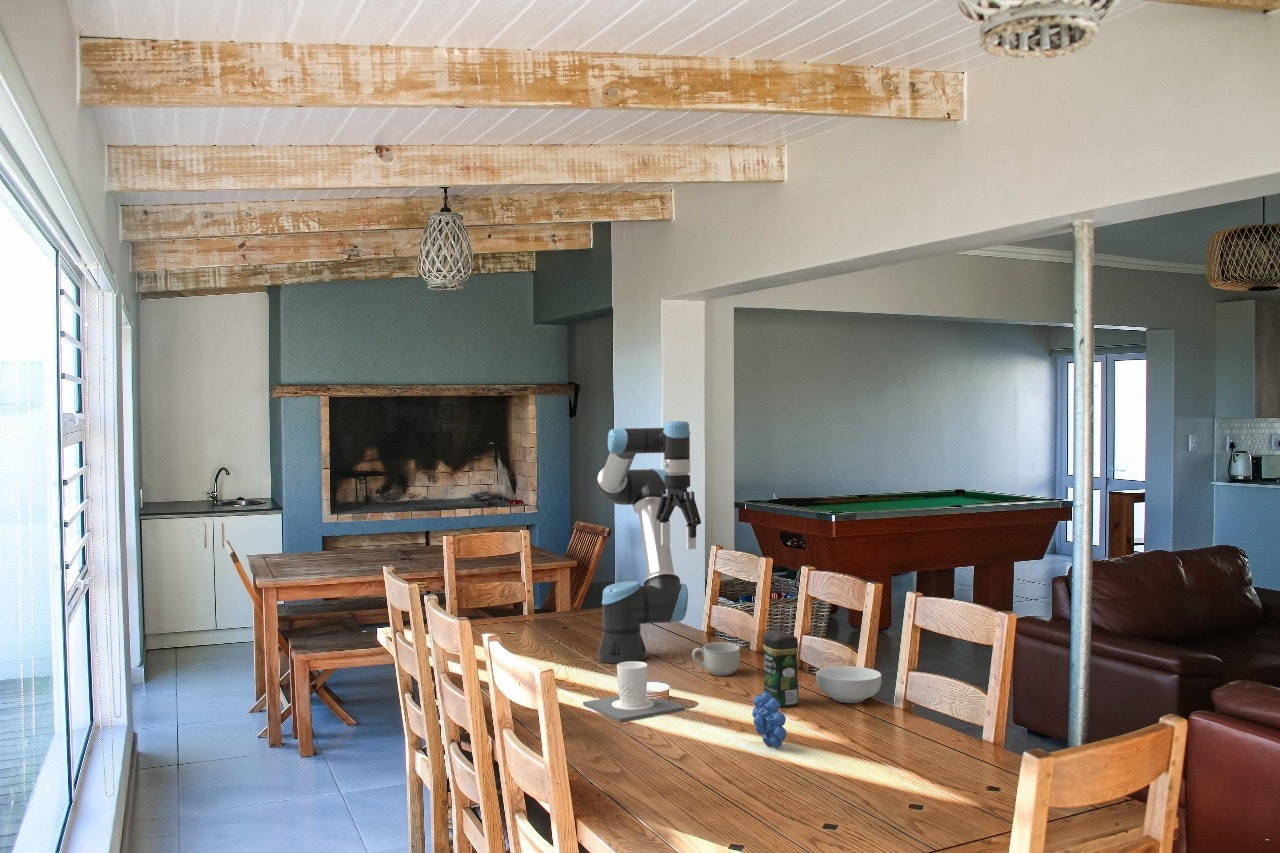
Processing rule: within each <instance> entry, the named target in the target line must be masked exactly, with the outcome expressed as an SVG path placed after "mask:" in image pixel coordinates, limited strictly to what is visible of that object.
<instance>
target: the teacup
mask: <svg viewBox="0 0 1280 853" xmlns="http://www.w3.org/2000/svg"><path fill="white" fill-rule="evenodd" d="M740 650H741V646H740V645H738V644H735V643H731V642H724V641H722V642H720V641H719V642H718V641H717V642H709V643H706V644H704V645H703V648H702V647H696V648H694V649H693V650H692V653H691V657H692V659H693V660H694V662H696V663H697V664H699V665H701V667H702V669H703V668H704V669H705V670H707V671H708V672H709V673H710V674H711V675H714V676H719V677H720V676H721V677H724V676H726V675H727V676H731V675H732V674H734V673H735V672H736V671H737V670H738V669H739V667H740V660H741V659H740V658H741V656H740V654H741V653H740V652H741V651H740ZM697 652H699V653H701V655H702V657H703V661H702V660H700V659H698V658H697V657H696V654H697Z"/></svg>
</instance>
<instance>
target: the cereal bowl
mask: <svg viewBox="0 0 1280 853" xmlns="http://www.w3.org/2000/svg"><path fill="white" fill-rule="evenodd" d="M815 675H816V676H815V679H816V684H817V687H818V688H819V690H820V692H822V693H823V694H824V695H826V696H828V697H830V698H832V699H833V700H834V701H836V702H839V703H844V704H858V702H859V703H862V702H864V701H865V699H869V698H872V697H873V696H875V695H876V694H878V692H879V691H880V690H881V686H882V673H881V672H879V671H878V670H876V669H872V668H868V667H861V666H860V667H859V666H851V665H850V666H845V665H844V666H832V667H831V666H830V667H824V668H821V669H819V670H817V671H816V672H815Z"/></svg>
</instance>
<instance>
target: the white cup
mask: <svg viewBox="0 0 1280 853" xmlns="http://www.w3.org/2000/svg"><path fill="white" fill-rule="evenodd" d="M616 675H617V676H616V677H617V689H618V696H619V699H620V704H621V705H623V706H629V707H635V706H641V705H644V704H645V703H646V692H647V688H648V687H647V685H648V663H646V662H644V661H641V662H637V661H629V662H622V663H619V664H616Z"/></svg>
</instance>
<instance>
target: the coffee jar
mask: <svg viewBox="0 0 1280 853" xmlns="http://www.w3.org/2000/svg"><path fill="white" fill-rule="evenodd" d="M762 638H763V639H762V649H763V692H768V693H769V694H770V695H771V697H772V698H775V699H776V700H777V701H778V702H779V703H780V707H784V708H789V707H793V706H795V705H798V704H799V702H800V693H799V678H798V677H799V676H798V671H799V670H798V653H799V641H798V637H797V636H794V635H793V634H790V633H787V632H784V631H782V630H781V629H778V630H777V629H776V630H767V631H766V632H765V633H764V634H763V637H762Z"/></svg>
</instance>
